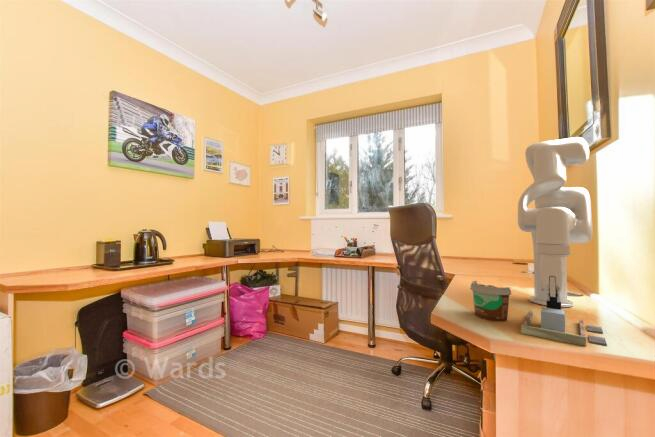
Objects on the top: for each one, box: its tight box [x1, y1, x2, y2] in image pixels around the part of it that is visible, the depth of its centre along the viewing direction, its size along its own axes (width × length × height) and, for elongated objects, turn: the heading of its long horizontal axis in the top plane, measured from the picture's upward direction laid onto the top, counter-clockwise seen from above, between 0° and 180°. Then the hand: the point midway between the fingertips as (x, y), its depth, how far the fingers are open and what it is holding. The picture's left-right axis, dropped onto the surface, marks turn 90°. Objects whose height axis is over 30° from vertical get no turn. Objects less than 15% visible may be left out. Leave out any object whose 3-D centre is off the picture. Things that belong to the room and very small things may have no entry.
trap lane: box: [520, 310, 608, 347], centre depth 78 cm, size 20×16×2 cm
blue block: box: [540, 306, 566, 333], centre depth 78 cm, size 5×5×5 cm
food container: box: [469, 280, 512, 322], centre depth 89 cm, size 12×6×10 cm, turn 23°
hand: (553, 315), depth 82 cm, fingers closed
